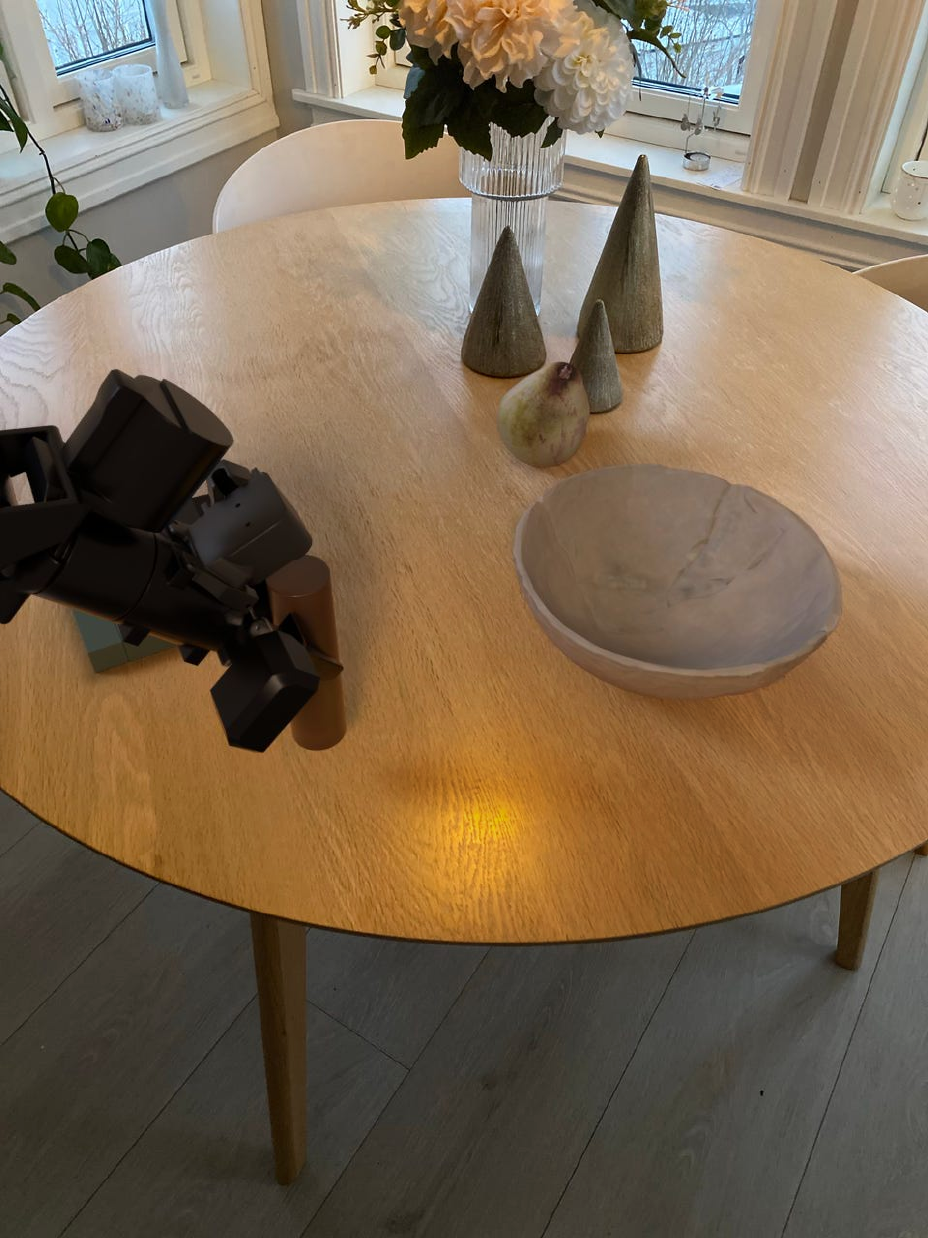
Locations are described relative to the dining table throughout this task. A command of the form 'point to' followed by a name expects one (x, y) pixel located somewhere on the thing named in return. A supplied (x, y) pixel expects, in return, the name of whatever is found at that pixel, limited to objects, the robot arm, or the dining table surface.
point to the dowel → (312, 608)
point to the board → (112, 642)
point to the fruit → (545, 415)
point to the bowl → (675, 581)
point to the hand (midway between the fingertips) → (328, 651)
